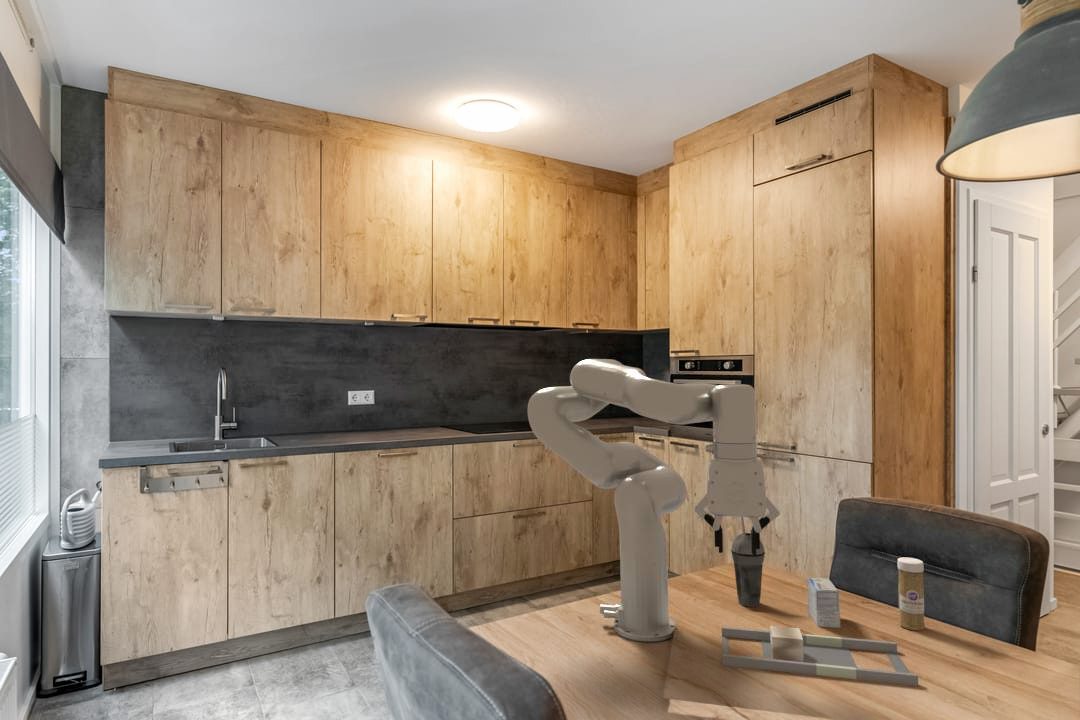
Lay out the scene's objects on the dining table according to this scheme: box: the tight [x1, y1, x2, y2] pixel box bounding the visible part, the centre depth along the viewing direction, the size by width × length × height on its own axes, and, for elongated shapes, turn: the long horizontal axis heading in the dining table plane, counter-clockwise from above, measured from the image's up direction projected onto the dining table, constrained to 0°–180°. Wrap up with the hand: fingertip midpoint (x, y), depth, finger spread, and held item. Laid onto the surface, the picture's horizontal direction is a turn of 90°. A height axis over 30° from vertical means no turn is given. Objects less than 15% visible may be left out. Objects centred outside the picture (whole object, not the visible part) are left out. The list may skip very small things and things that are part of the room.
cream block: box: [769, 625, 804, 662], centre depth 111 cm, size 5×5×4 cm
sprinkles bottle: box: [896, 556, 926, 631], centre depth 126 cm, size 5×5×14 cm
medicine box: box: [807, 577, 841, 628], centre depth 127 cm, size 8×4×9 cm, turn 168°
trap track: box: [721, 626, 919, 687], centre depth 110 cm, size 30×13×3 cm, turn 74°
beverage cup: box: [730, 517, 766, 608], centre depth 141 cm, size 7×7×20 cm
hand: (737, 550), depth 114 cm, fingers open, 5 cm apart
